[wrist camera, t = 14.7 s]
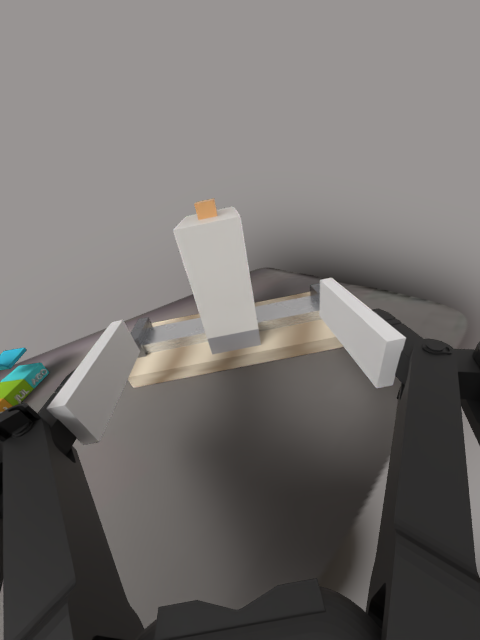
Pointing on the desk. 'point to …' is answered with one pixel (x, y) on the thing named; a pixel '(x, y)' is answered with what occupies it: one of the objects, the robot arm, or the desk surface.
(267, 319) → the steel rail
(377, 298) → the desk surface
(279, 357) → the rail board
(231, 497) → the desk surface
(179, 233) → the breaker module
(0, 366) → the chart
